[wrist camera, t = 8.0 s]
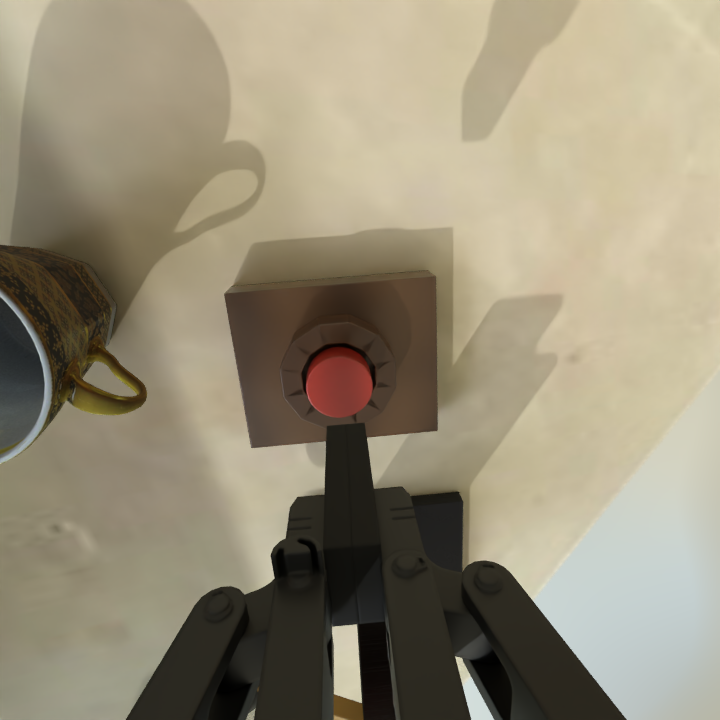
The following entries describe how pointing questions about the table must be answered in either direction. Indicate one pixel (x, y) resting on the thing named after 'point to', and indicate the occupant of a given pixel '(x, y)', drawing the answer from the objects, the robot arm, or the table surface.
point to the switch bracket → (444, 549)
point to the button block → (336, 329)
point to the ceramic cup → (52, 344)
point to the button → (339, 382)
